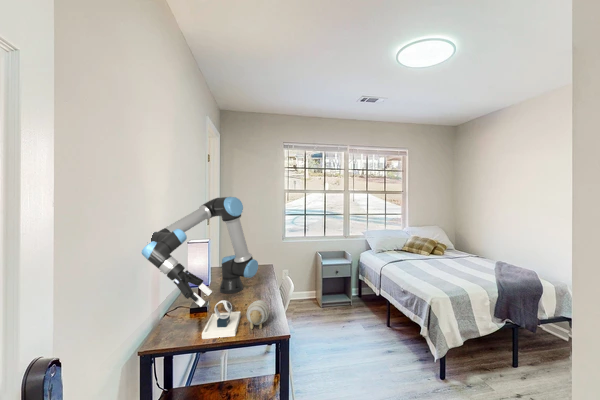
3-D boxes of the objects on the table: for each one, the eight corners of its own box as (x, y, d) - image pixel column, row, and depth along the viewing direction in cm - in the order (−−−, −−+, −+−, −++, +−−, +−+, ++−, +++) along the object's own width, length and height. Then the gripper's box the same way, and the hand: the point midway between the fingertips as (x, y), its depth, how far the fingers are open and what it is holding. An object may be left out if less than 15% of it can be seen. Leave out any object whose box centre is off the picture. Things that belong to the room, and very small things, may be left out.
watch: (230, 327, 117) (229, 303, 117) (213, 327, 117) (212, 303, 117) (233, 321, 122) (233, 298, 123) (217, 321, 123) (216, 299, 123)
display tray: (212, 318, 129) (212, 313, 129) (240, 316, 130) (240, 311, 130) (201, 339, 109) (201, 333, 109) (235, 336, 110) (234, 330, 111)
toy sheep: (243, 333, 112) (243, 308, 112) (250, 317, 129) (250, 295, 129) (267, 332, 112) (266, 307, 113) (271, 316, 129) (270, 294, 129)
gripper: (176, 268, 129) (207, 295, 131) (154, 283, 104) (193, 316, 106) (186, 257, 130) (217, 284, 131) (167, 269, 105) (206, 302, 107)
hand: (207, 298), depth 119 cm, fingers open, 13 cm apart
